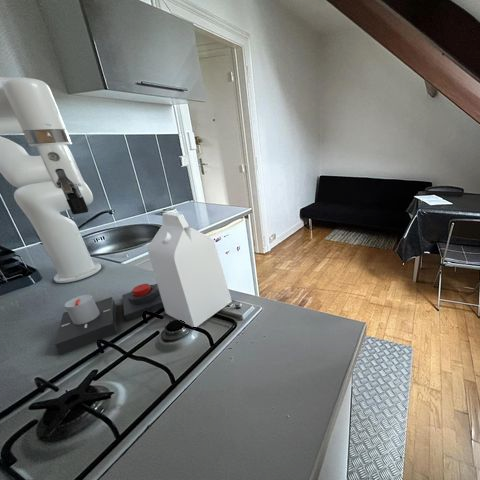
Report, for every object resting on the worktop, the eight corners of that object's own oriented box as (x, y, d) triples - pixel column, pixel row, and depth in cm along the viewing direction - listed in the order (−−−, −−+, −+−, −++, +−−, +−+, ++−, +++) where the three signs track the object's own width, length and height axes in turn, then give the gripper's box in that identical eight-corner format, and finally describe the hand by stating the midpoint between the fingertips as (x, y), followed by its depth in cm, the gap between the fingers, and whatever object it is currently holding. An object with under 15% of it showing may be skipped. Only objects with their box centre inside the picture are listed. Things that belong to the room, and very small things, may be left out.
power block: (124, 299, 75) (120, 289, 73) (163, 286, 80) (159, 276, 79) (126, 321, 66) (121, 309, 64) (170, 304, 71) (166, 293, 70)
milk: (232, 301, 71) (210, 209, 61) (194, 328, 62) (162, 225, 52) (203, 290, 77) (180, 205, 67) (165, 313, 68) (131, 218, 57)
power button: (134, 292, 72) (131, 287, 71) (150, 287, 74) (148, 282, 74) (135, 299, 69) (132, 293, 68) (152, 293, 71) (150, 287, 71)
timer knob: (74, 316, 64) (65, 298, 62) (100, 308, 66) (92, 290, 64) (72, 327, 60) (62, 309, 58) (99, 318, 62) (90, 300, 60)
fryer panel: (68, 322, 67) (63, 312, 65) (116, 305, 72) (111, 296, 71) (61, 355, 56) (54, 344, 55) (117, 333, 62) (112, 322, 60)
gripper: (66, 137, 58) (98, 215, 66) (72, 138, 70) (99, 205, 77) (18, 139, 54) (58, 222, 62) (34, 140, 66) (65, 210, 73)
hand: (81, 212), depth 69 cm, fingers closed
